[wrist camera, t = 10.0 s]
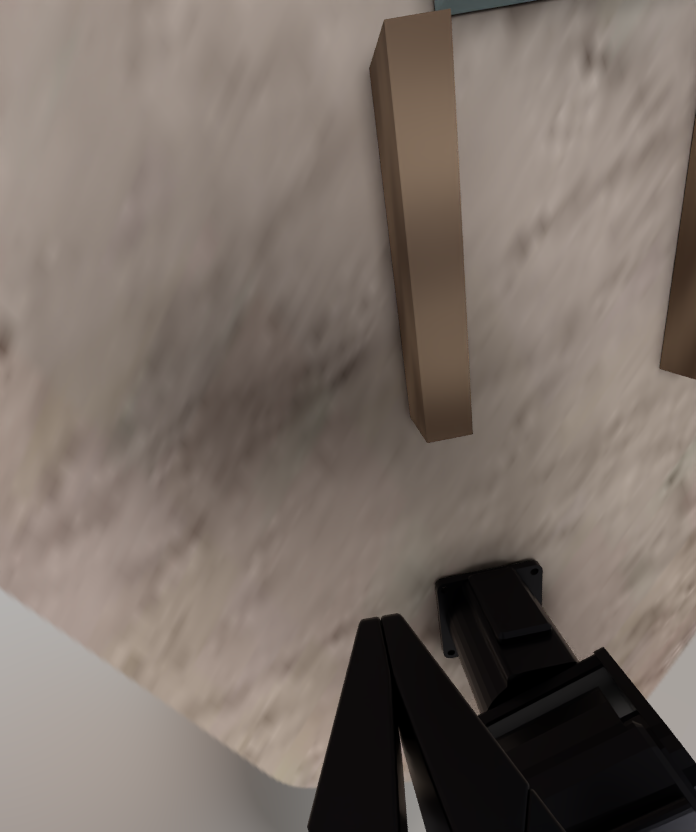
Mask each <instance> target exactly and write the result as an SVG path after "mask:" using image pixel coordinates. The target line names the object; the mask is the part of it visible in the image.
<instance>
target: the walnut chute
mask: <svg viewBox="0 0 696 832" xmlns="http://www.w3.org/2000/svg"><path fill="white" fill-rule="evenodd" d="M369 69H370V78H371V86H372V95H373V103H374V112H375V120H376V129H377V137H378V146H379V155H380V163H381V172H382V180H383V189H384V197H385V206H386V214H387V223H388V231H389V240H390V248H391V257H392V265H393V274H394V282H395V291H396V299H397V308H398V316H399V325H400V333H401V342H402V350H403V359H404V367H405V376H406V384H407V393H408V401H409V410H410V418H411V419H412V421H413V422H414V424H415V425H416V427H417V428H418V430H419V431H420V433H421V434H422V436H423V437H424V439H425V440H426V442H427V443H430V442H435V441H440V440H445V439H451V438H456V437H461V436H466V435H471V434H473V430H472V410H471V391H470V372H469V352H468V333H467V313H466V294H465V275H464V255H463V236H462V217H461V197H460V178H459V158H458V139H457V120H456V100H455V81H454V61H453V42H452V23H451V8H450V9H444V10H438V11H432V12H426V13H421V14H415V15H409V16H403V17H397V18H391V19H385V20H384V22H383V25H382V28H381V32H380V35H379V38H378V42H377V45H376V48H375V51H374V55H373V58H372V61H371V65H370V68H369ZM660 369H662V370H665V371H669V372H672V373H676V374H679V375H682V376H686V377H689V378H692V379H696V118H695V125H694V132H693V139H692V146H691V153H690V160H689V167H688V174H687V181H686V188H685V195H684V202H683V209H682V216H681V223H680V230H679V238H678V245H677V252H676V259H675V266H674V273H673V280H672V287H671V294H670V301H669V308H668V315H667V322H666V329H665V336H664V343H663V350H662V357H661V364H660Z"/></svg>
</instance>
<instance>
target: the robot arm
mask: <svg viewBox="0 0 696 832" xmlns="http://www.w3.org/2000/svg"><path fill="white" fill-rule="evenodd" d="M542 573H543V570H542V567H541V566H540V564H539V563H538V562H537V561H534V560H532V561H526V562H522V563H517V564H512V565H507V566H502V567H497V568H492V569H487V570H482V571H478V572H473V573H468V574H463V575H458V576H453V577H448V578H443V579H440V580H439V581H437V582H436V584H435V591H436V600H437V609H438V618H439V627H440V636H441V645H442V650H443V653H444V656H445V657H446V658H454V657H459V658H460V661H461V664H462V666H463V669H464V672H465V674H466V677H467V679H468V682H469V685H470V687H471V690H472V693H473V695H474V698H475V700H476V703H477V706H478V708H479V711H480V715H478V716H477V714H476V713H475V712H474V710H473V709H472V708H471V707H470V705H469V704H468V703H467V701H466V700H465V699H464V697H463V696H462V695H461V693H460V692H459V691H458V689H457V688H456V687H455V685H454V684H453V683H452V681H451V680H450V679H449V677H448V676H447V675H446V673H445V672H444V671H443V669H442V668H441V667H440V666H439V664H438V663H437V662H436V660H435V659H434V658H433V656H432V655H431V654H430V652H429V651H428V650H427V648H426V647H425V646H424V644H423V643H422V642H421V640H420V639H419V638H418V636H417V635H416V634H415V632H414V631H413V630H412V628H411V627H410V626H409V624H408V623H407V622H406V621H405V619H404V618H403V617H402V616H401V615H400V614H398V613H396V614H390V615H384V616H382V617H381V621H380V619H379V618H378V617H373V618H367V619H362V620H361V621H360V623H359V626H358V629H357V633H356V637H355V641H354V645H353V649H352V653H351V657H350V661H349V665H348V669H347V673H346V676H345V680H344V684H343V688H342V692H341V696H340V700H339V704H338V708H337V712H336V716H335V720H334V723H333V727H332V731H331V735H330V739H329V743H328V747H327V751H326V755H325V759H324V763H323V767H322V770H321V774H320V778H319V782H318V786H317V790H316V794H315V798H314V802H313V806H312V810H311V814H310V818H309V821H308V825H307V828H308V832H408V826H407V814H406V802H405V788H404V776H403V763H402V753H401V743H400V737H401V742H402V746H403V750H404V754H405V758H406V762H407V765H408V769H409V772H410V776H411V779H412V783H413V786H414V790H415V793H416V797H417V800H418V804H419V807H420V811H421V814H422V818H423V822H424V825H425V829H426V832H696V763H695V761H694V760H693V759H692V758H691V756H690V755H689V753H688V752H687V751H686V750H685V748H684V747H683V746H682V744H681V743H680V742H679V741H678V739H677V738H676V737H675V735H674V734H673V733H672V732H671V730H670V729H669V728H668V726H667V725H666V724H665V723H664V722H663V720H662V719H661V718H660V717H659V715H658V714H657V713H656V712H655V710H654V709H653V708H652V707H651V705H650V704H649V703H648V702H647V700H646V699H645V698H644V697H643V695H642V694H641V693H640V692H639V690H638V689H637V688H636V687H635V685H634V684H633V683H632V682H631V680H630V679H629V678H628V677H627V675H626V674H625V673H624V672H623V670H622V669H621V668H620V667H619V666H618V664H617V663H616V662H615V661H614V659H613V658H612V657H611V656H610V654H609V653H608V652H607V651H606V649H605V648H604V647H602V648H600V649H598V650H596V651H594V655H592V656H590V657H588V658H586V659H584V660H582V661H580V662H579V661H578V659H577V658H576V656H575V655H574V653H573V652H572V650H571V649H570V647H569V646H568V644H567V643H566V642H565V640H564V639H563V637H562V636H561V634H560V633H559V631H558V630H557V628H556V627H555V625H554V624H553V622H552V621H551V619H550V618H549V617H548V615H547V614H546V612H545V611H544V609H543V608H542ZM443 587H445V588H443ZM399 733H400V735H399Z"/></svg>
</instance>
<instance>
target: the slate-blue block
mask: <svg viewBox="0 0 696 832" xmlns="http://www.w3.org/2000/svg"><path fill="white" fill-rule="evenodd" d="M529 1H535V0H435V11H438V10H444V9H450V8H451V15H453V14H459V13H465V12H470V11H476V10H482V9H488V8H494V7H500V6H506V5H512V4H517V3H523V2H529Z"/></svg>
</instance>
